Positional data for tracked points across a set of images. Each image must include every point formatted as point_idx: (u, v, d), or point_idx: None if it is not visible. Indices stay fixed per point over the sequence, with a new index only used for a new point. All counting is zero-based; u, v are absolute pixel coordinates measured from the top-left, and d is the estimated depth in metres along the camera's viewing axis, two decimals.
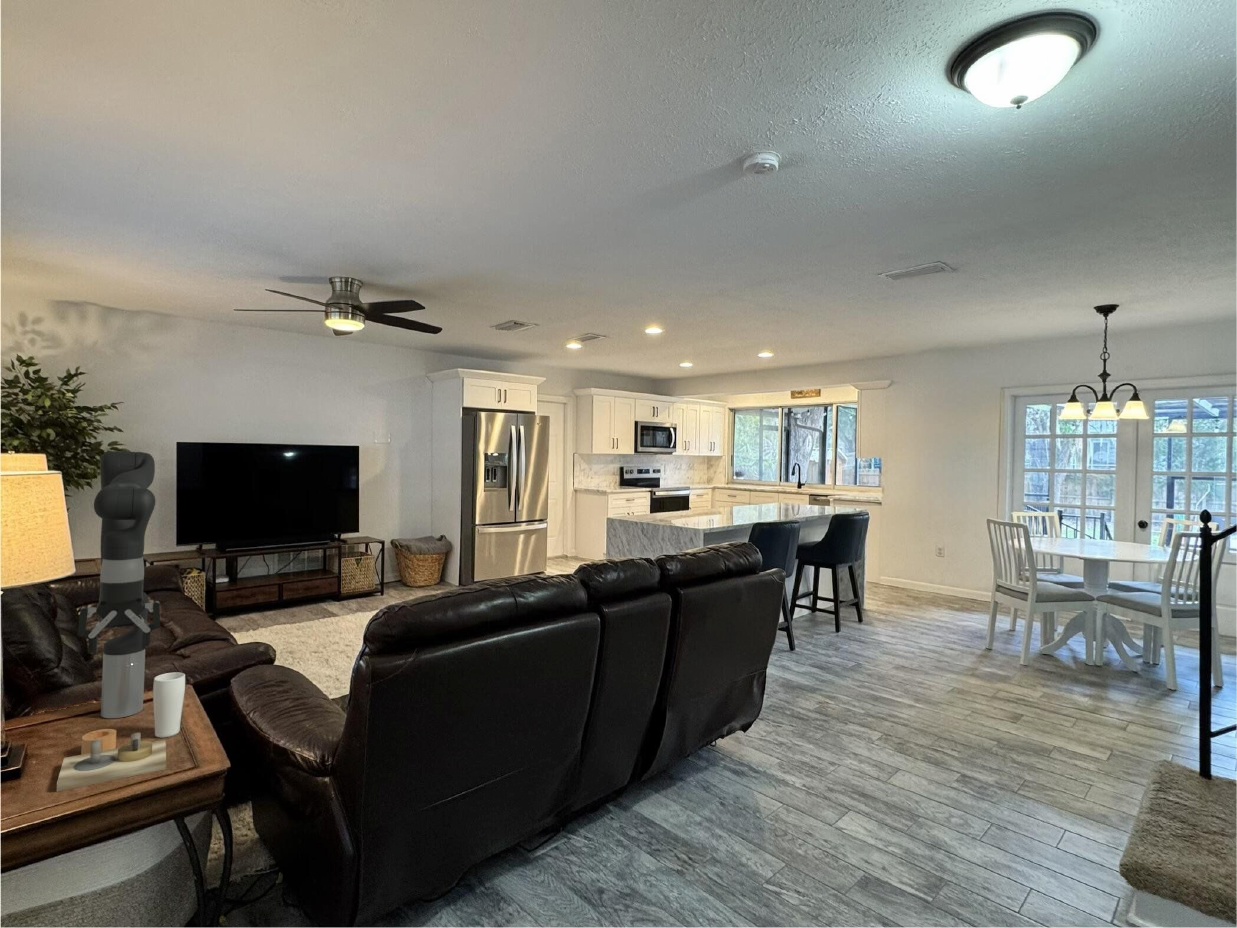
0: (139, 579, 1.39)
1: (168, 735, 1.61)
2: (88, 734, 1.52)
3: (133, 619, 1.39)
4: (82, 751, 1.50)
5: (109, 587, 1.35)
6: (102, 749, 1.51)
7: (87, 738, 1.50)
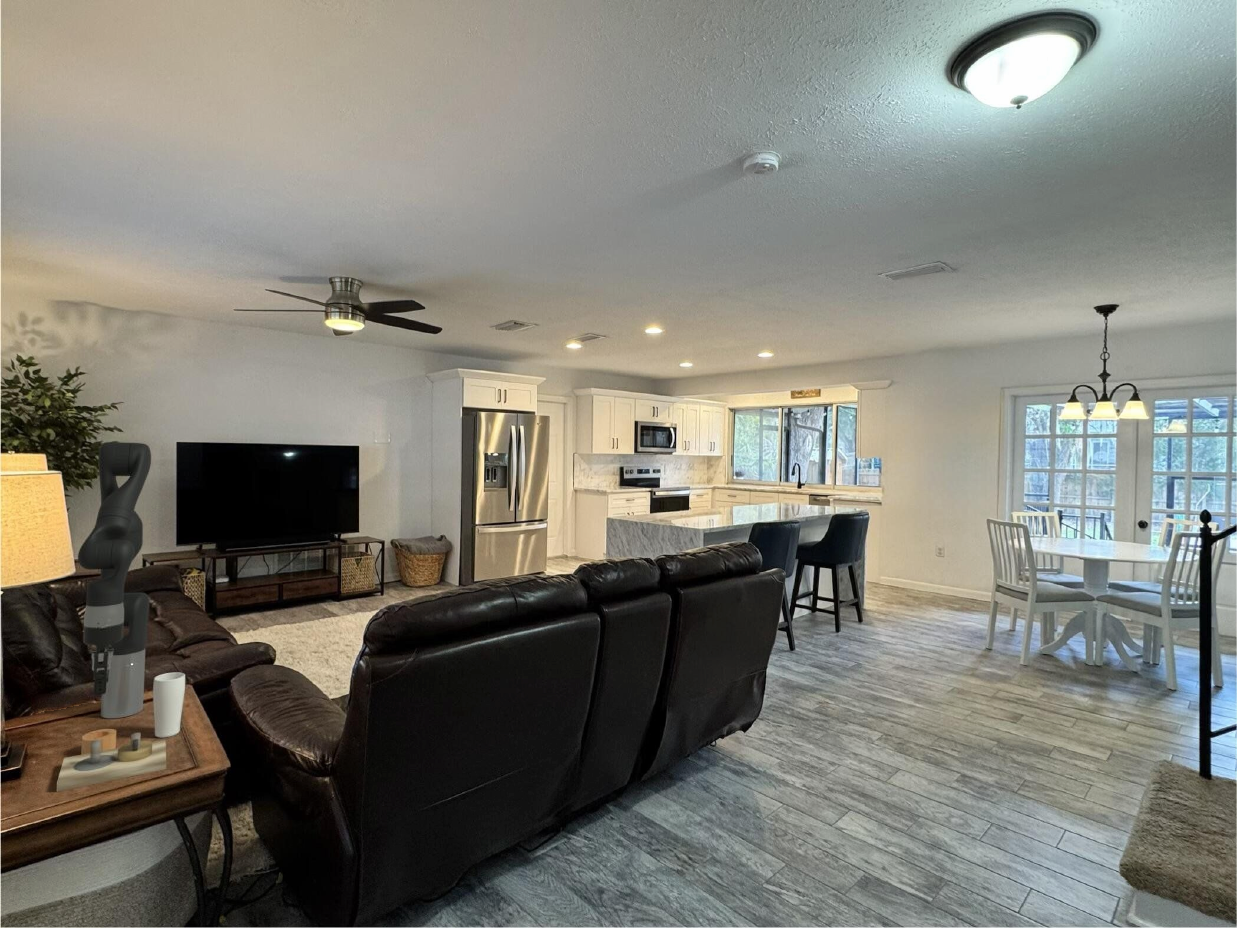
0: None
1: (168, 735, 1.61)
2: (88, 734, 1.52)
3: None
4: (82, 751, 1.50)
5: (119, 627, 1.53)
6: (102, 749, 1.51)
7: (87, 738, 1.50)
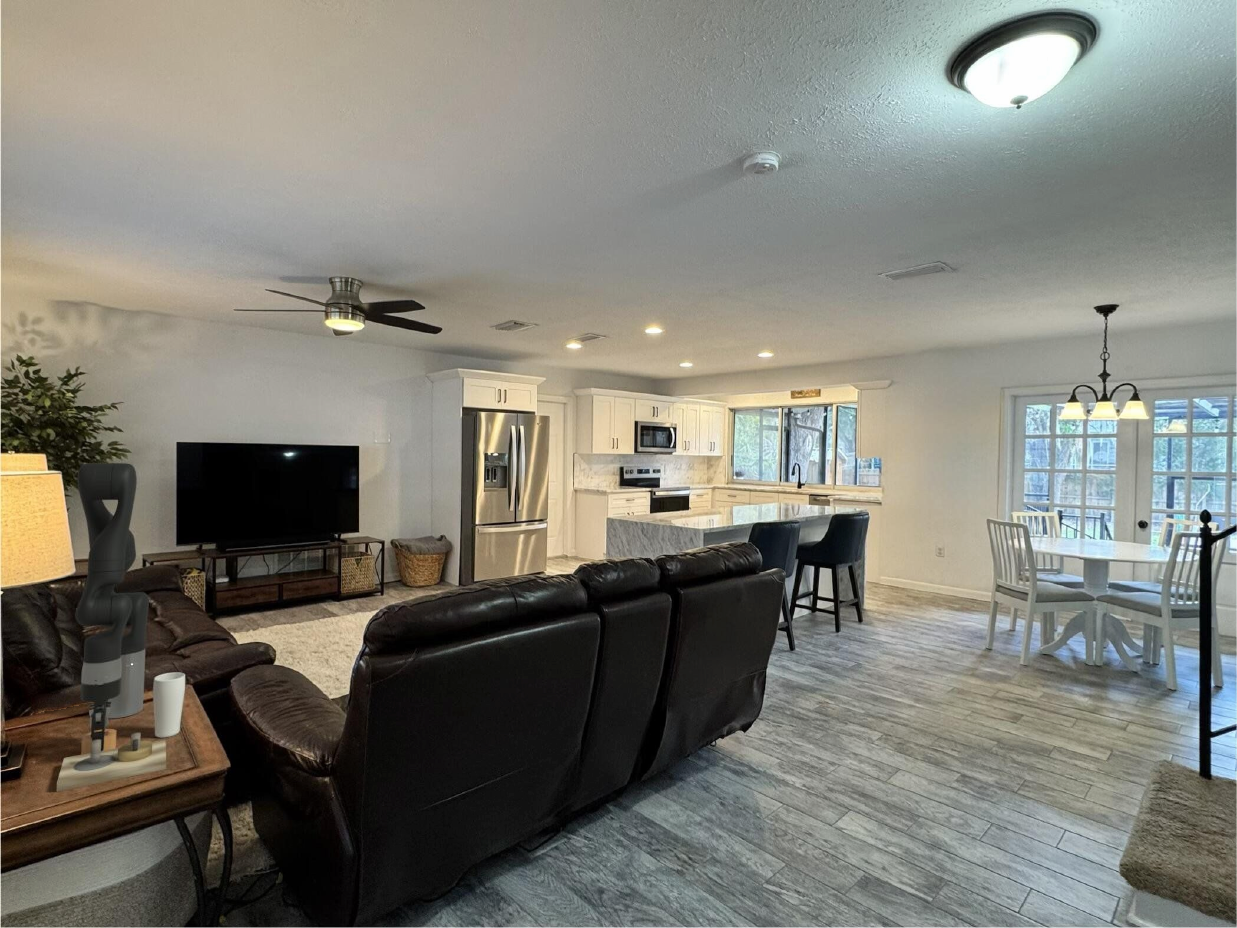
0: None
1: (168, 735, 1.61)
2: (88, 734, 1.52)
3: None
4: (82, 751, 1.50)
5: (117, 683, 1.53)
6: None
7: (87, 738, 1.50)
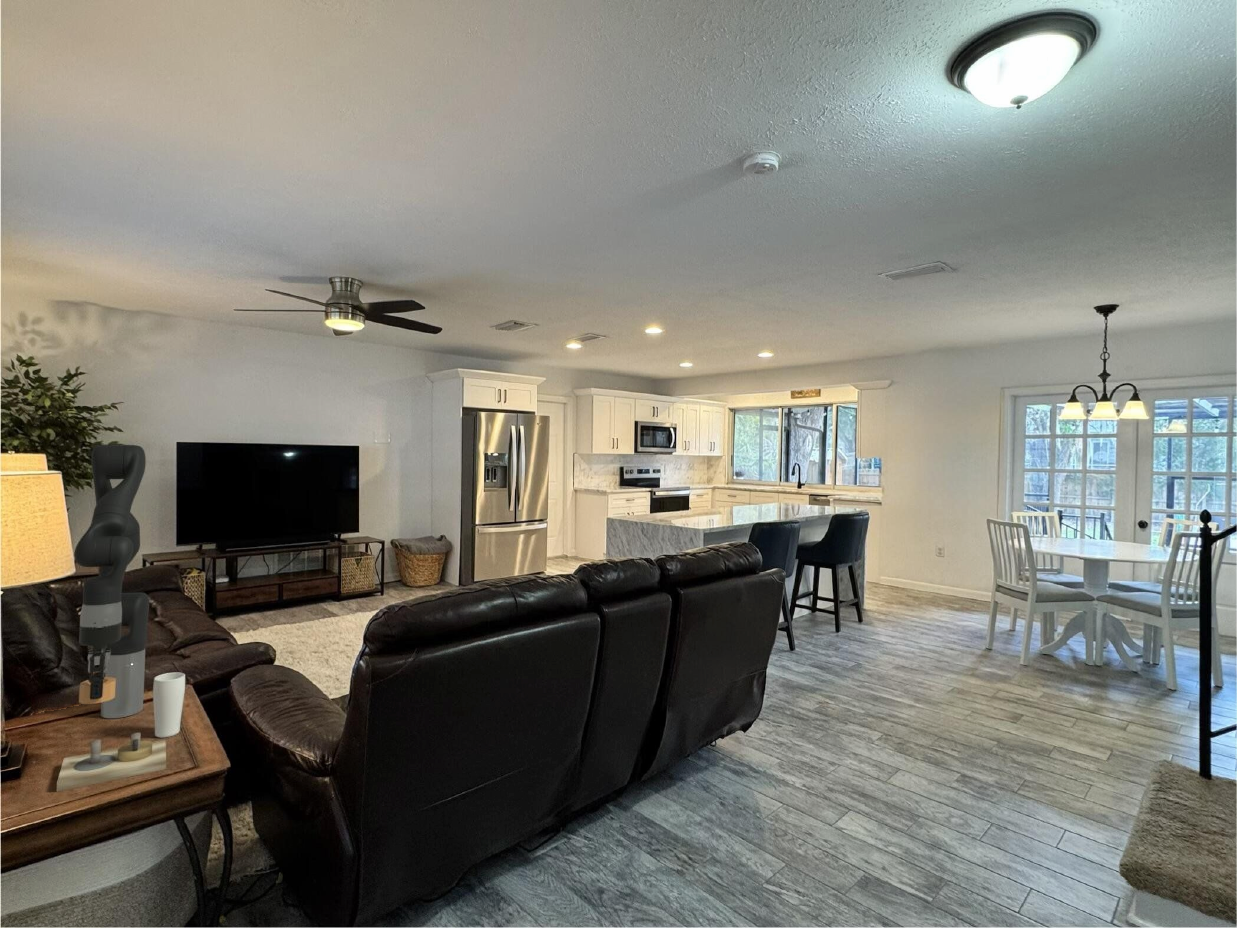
0: None
1: (168, 735, 1.61)
2: (86, 681, 1.46)
3: (109, 658, 1.49)
4: (80, 698, 1.44)
5: (117, 627, 1.47)
6: None
7: (85, 684, 1.44)
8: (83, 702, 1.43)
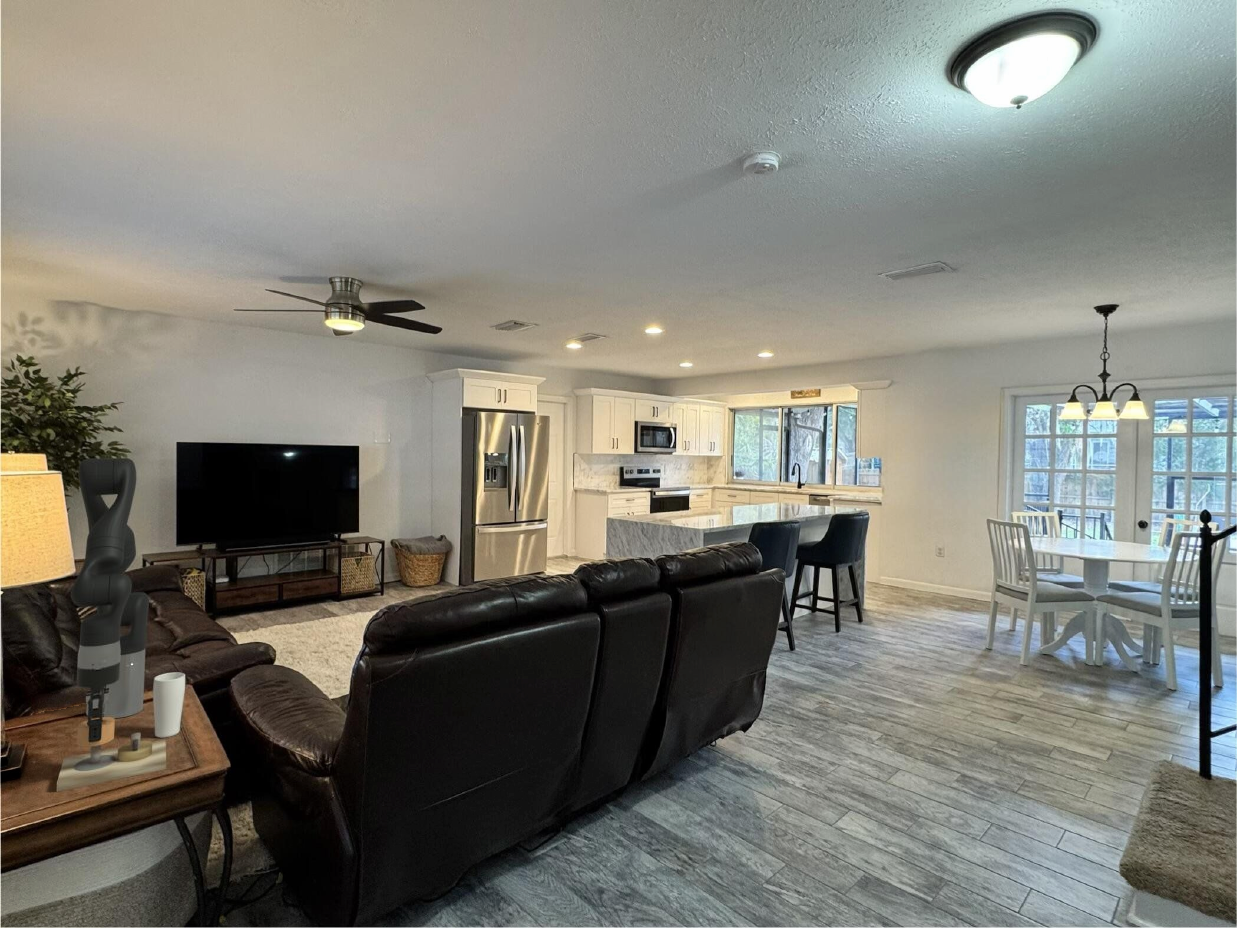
0: None
1: (168, 735, 1.61)
2: (85, 722, 1.43)
3: None
4: (78, 740, 1.40)
5: (116, 668, 1.43)
6: None
7: (84, 727, 1.41)
8: (81, 745, 1.40)
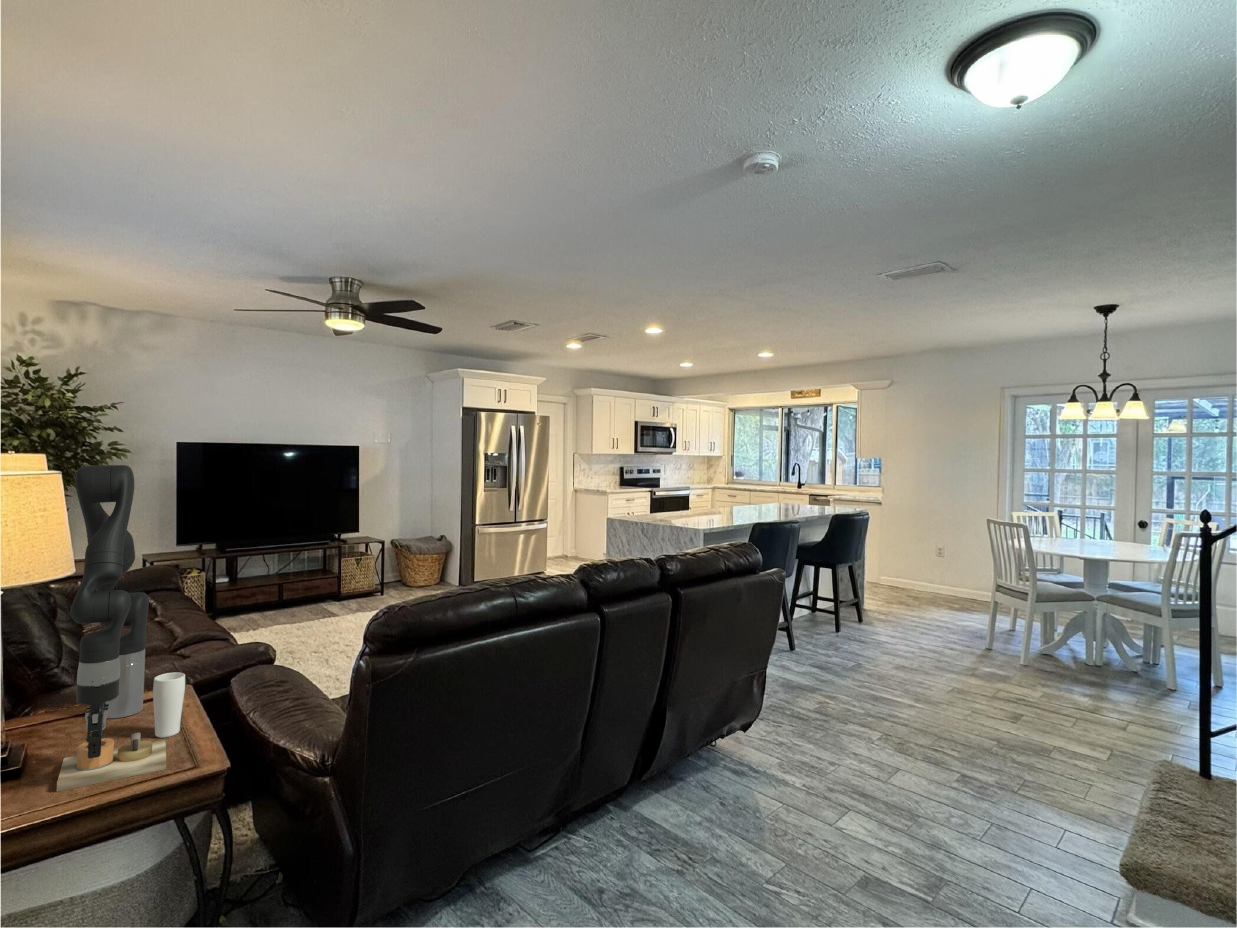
0: None
1: (168, 735, 1.61)
2: (84, 744, 1.43)
3: None
4: (77, 762, 1.40)
5: (115, 684, 1.43)
6: (99, 760, 1.41)
7: (83, 749, 1.41)
8: (81, 767, 1.40)
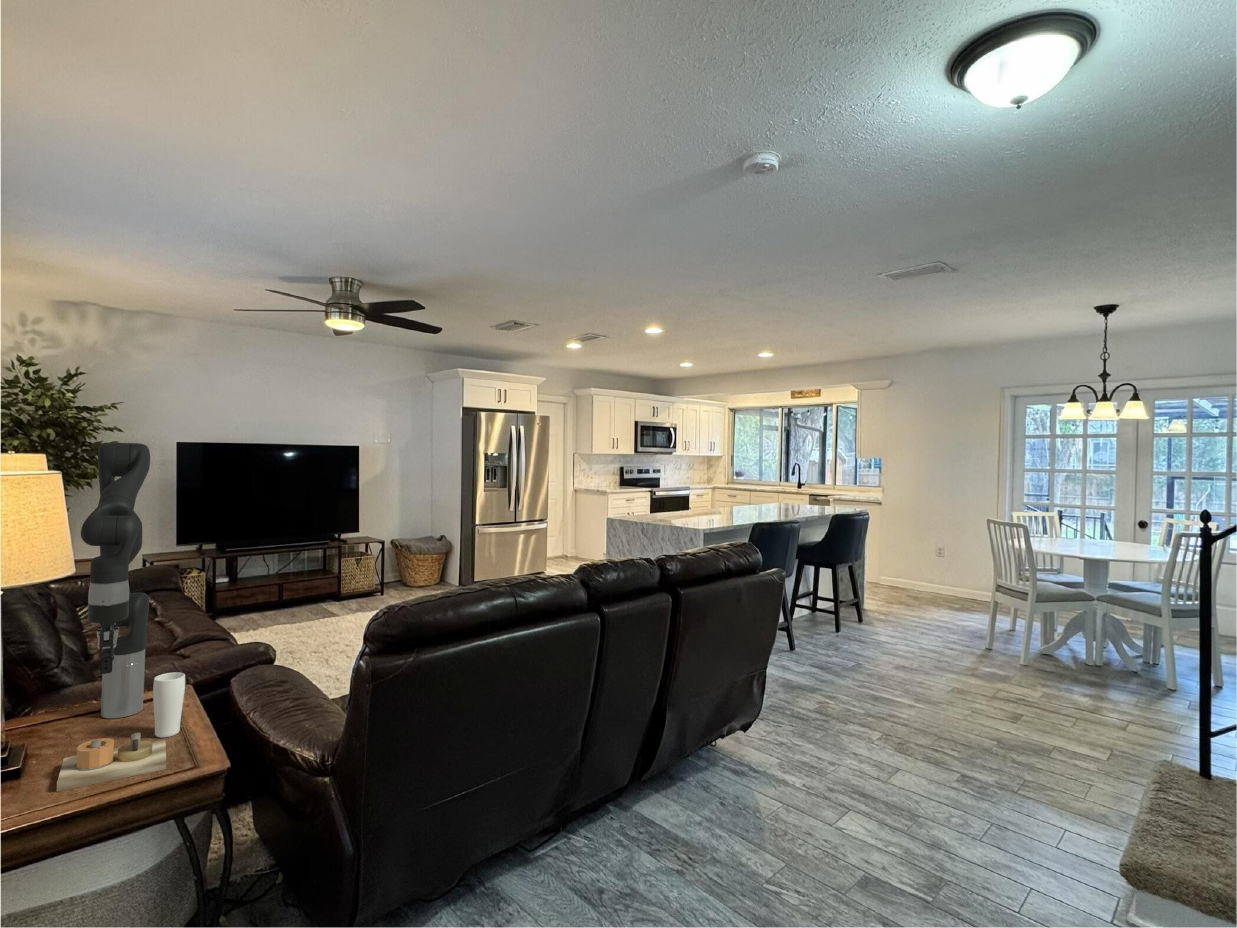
0: None
1: (168, 735, 1.61)
2: (84, 744, 1.43)
3: None
4: (77, 762, 1.40)
5: (125, 605, 1.49)
6: (99, 760, 1.41)
7: (83, 749, 1.41)
8: (81, 767, 1.40)
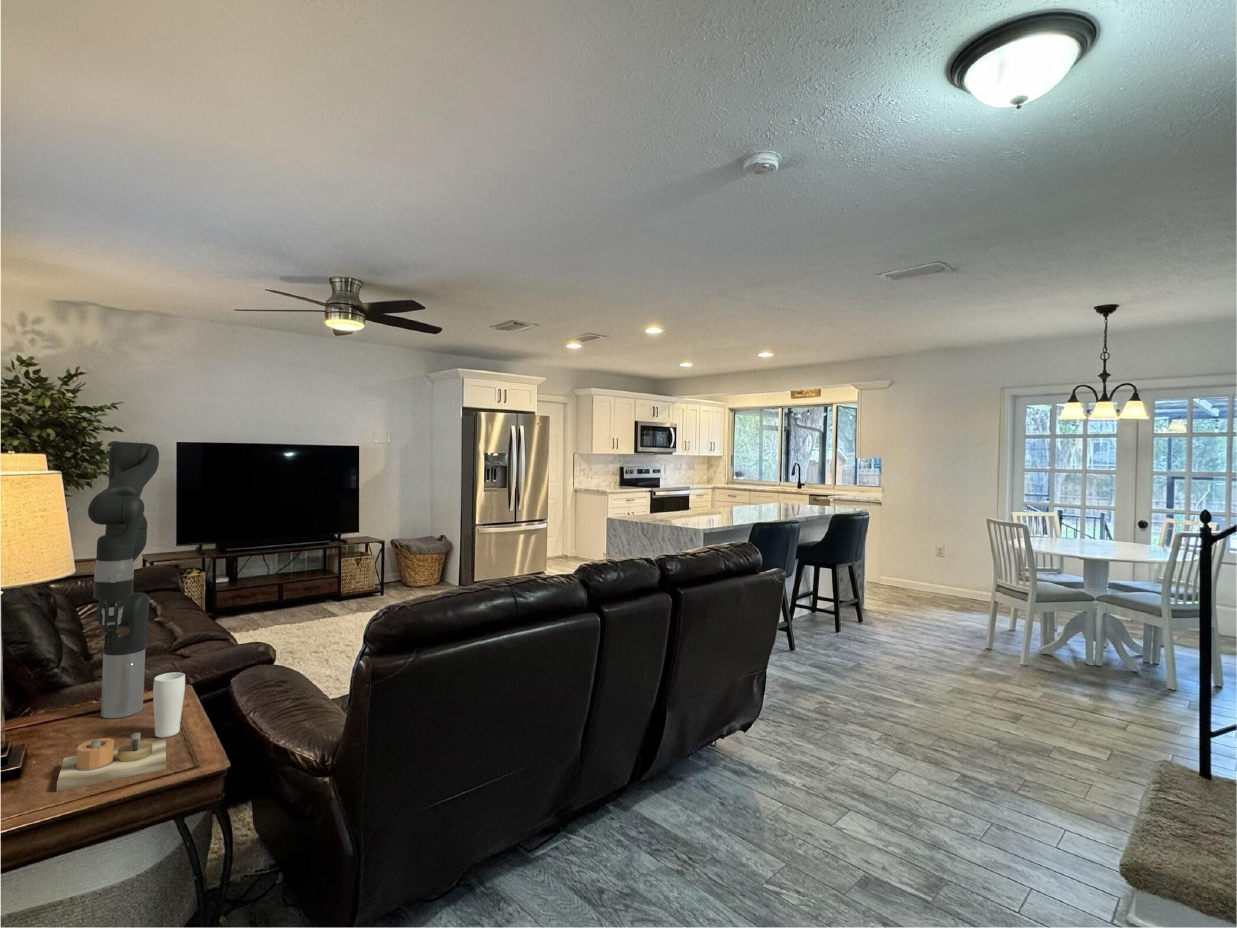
0: None
1: (168, 735, 1.61)
2: (84, 744, 1.43)
3: None
4: (77, 762, 1.40)
5: (129, 583, 1.53)
6: (99, 760, 1.41)
7: (83, 749, 1.41)
8: (81, 767, 1.40)
